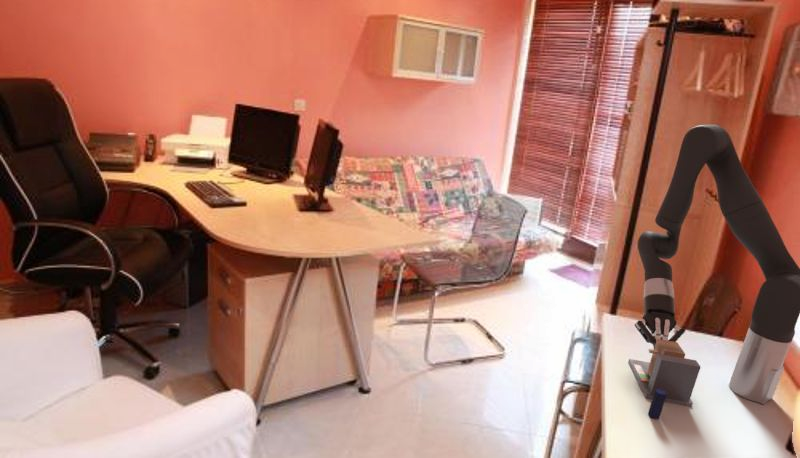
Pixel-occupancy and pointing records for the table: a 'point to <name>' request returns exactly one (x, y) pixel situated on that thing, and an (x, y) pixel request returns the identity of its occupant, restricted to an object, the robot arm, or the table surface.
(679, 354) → the block
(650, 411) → the eraser
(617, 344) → the table surface
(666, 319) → the robot arm
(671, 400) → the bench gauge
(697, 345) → the table surface
